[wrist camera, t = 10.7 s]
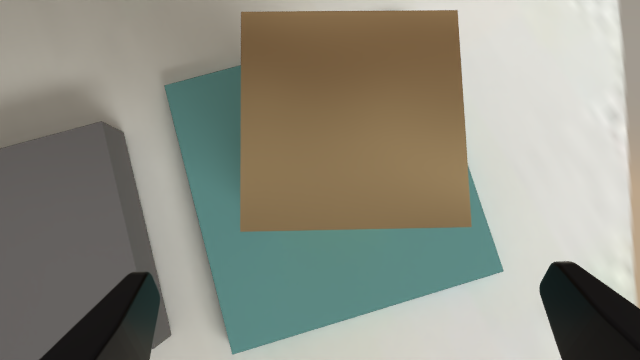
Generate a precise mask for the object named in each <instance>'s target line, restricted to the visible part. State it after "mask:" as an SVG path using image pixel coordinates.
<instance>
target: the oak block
mask: <svg viewBox="0 0 640 360" xmlns="http://www.w3.org/2000/svg"><path fill="white" fill-rule="evenodd" d="M453 227H472V224H471V209H470V194H469V178H468V163H467V148H466V133H465V118H464V103H463V88H462V72H461V57H460V42H459V27H458V12H457V10H438V11H296V12H241V165H240V232H254V231H303V230H353V229H403V228H453Z"/></svg>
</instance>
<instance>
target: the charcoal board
mask: <svg viewBox="0 0 640 360" xmlns="http://www.w3.org/2000/svg"><path fill="white" fill-rule="evenodd" d="M143 271H147V272H150V273H151V274H152V276H153V279H154V281H155V283H156V286H157V288H158V291H159V294H160V306H159V312H158V317H157V322H156V328H155V333H154V338H153V343H152V349H153V348H155V347H156V346H158V345H159V344H160V343H162V342H163V341H164V340H166V339H167V338H168V337H170V336H171V331H170V327H169V322H168V318H167V314H166V310H165V306H164V301H163V297H162V293H161V289H160V284H159V280H158V276H157V272H156V268H155V263H154V259H153V255H152V251H151V247H150V242H149V238H148V234H147V230H146V226H145V221H144V217H143V213H142V209H141V205H140V200H139V196H138V192H137V188H136V184H135V179H134V175H133V171H132V167H131V163H130V158H129V154H128V150H127V146H126V142H125V137H124V133H123V132H122V131H120V130H118V129H116V128H114V127H112V126H110V125H108V124H106V123H104V122H102V121H101V122H98V123H94V124H90V125H86V126H83V127H79V128H75V129H72V130H68V131H64V132H60V133H57V134H53V135H49V136H46V137H42V138H38V139H34V140H31V141H27V142H23V143H20V144H16V145H12V146H8V147H5V148H1V149H0V360H39V359H40V358H41V357H42V356H43V355H44V354H45V353H46V352H48V351H49V350H50V349H51V348H52V347H53V346H54V345H55V344H56V343H57V342H58V341H59V340H60V339H61V338H62V337H63V336H64V335H65V334H66V333H67V332H68V331H69V330H70V329H71V328H72V327H73V326H75V325H76V324H77V323H78V322H79V321H80V320H81V319H82V318H83V317H84V316H85V315H86V314H87V313H88V312H89V311H90V310H91V309H92V308H93V307H94V306H95V305H96V304H97V303H98V302H99V301H100V300H102V299H103V298H104V297H105V296H106V295H107V294H108V293H109V292H110V291H111V290H112V289H113V288H114V287H115V286H116V285H117V284H118V283H119V282H120V281H121V280H122V279H123V278H124V277H125V276H126V275H128V274H129V273H131V272H143Z"/></svg>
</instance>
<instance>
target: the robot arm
mask: <svg viewBox="0 0 640 360" xmlns="http://www.w3.org/2000/svg"><path fill="white" fill-rule="evenodd" d="M540 295H541V298H542V302H543V305H544V308H545V311H546V314H547V317H548V320H549V323H550V326H551V329H552V332H553V335H554V338H555V341H556V344H557V347H558V350H559V352H560V355H561V358H562V360H640V309H639V308H638V307H636V306H635V305H634V304H632V303H631V302H629V301H628V300H626V299H625V298H624V297H622V296H621V295H619V294H618V293H617V292H615V291H614V290H612V289H611V288H610V287H608V286H607V285H605V284H604V283H603V282H601V281H600V280H598V279H597V278H595V277H594V276H593V275H591V274H590V273H588V272H587V271H586V270H584V269H583V268H581V267H580V266H579V265H577V264H575V263H573V262H569V261H563V262H553V263H552V264H551V265H550V266H549V268H548V270H547V272H546V274H545V276H544V278H543V279H542V281H541V283H540ZM159 306H160V294H159V291H158V288H157V286H156V283H155V281H154V279H153V276H152V274H151V273H150V272H147V271H143V272H131V273H129V274H128V275H126V276H125V277H124V278H123V279H122V280H121V281H120V282H119V283H118V284H117V285H116V286H115V287H114V288H113V289H112V290H111V291H110V292H109V293H108V294H107V295H106V296H105V297H104V298H103V299H102V300H100V301H99V302H98V303H97V304H96V305H95V306H94V307H93V308H92V309H91V310H90V311H89V312H88V313H87V314H86V315H85V316H84V317H83V318H82V319H81V320H80V321H79V322H78V323H77V324H76V325H75V326H73V327H72V328H71V329H70V330H69V331H68V332H67V333H66V334H65V335H64V336H63V337H62V338H61V339H60V340H59V341H58V342H57V343H56V344H55V345H54V346H53V347H52V348H51V349H50V350H49V351H48V352H46V353H45V354H44V355H43V356H42V357H41V358H40V359H39V360H149V359H150V354H151V349H152V343H153V338H154V333H155V328H156V322H157V317H158V312H159Z"/></svg>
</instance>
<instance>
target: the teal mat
mask: <svg viewBox="0 0 640 360" xmlns="http://www.w3.org/2000/svg"><path fill="white" fill-rule="evenodd" d="M165 90H166V94H167V98H168V102H169V106H170V110H171V114H172V118H173V122H174V126H175V130H176V134H177V138H178V142H179V146H180V149H181V153H182V157H183V161H184V165H185V169H186V173H187V177H188V181H189V185H190V189H191V193H192V197H193V201H194V205H195V209H196V213H197V217H198V220H199V224H200V228H201V232H202V236H203V240H204V244H205V248H206V252H207V256H208V260H209V264H210V268H211V272H212V276H213V280H214V284H215V287H216V291H217V295H218V299H219V303H220V307H221V311H222V315H223V319H224V323H225V327H226V331H227V335H228V339H229V343H230V347H231V351H232V355H233V354H236V353H239V352H243V351H246V350H249V349H252V348H256V347H259V346H262V345H265V344H269V343H272V342H275V341H278V340H282V339H285V338H288V337H291V336H295V335H298V334H301V333H304V332H308V331H311V330H314V329H317V328H321V327H324V326H327V325H330V324H334V323H337V322H340V321H343V320H347V319H350V318H353V317H356V316H360V315H363V314H366V313H370V312H373V311H376V310H379V309H383V308H386V307H389V306H392V305H396V304H399V303H402V302H405V301H409V300H412V299H415V298H418V297H422V296H425V295H428V294H431V293H435V292H438V291H441V290H444V289H448V288H451V287H454V286H457V285H461V284H464V283H467V282H470V281H474V280H477V279H480V278H483V277H487V276H490V275H493V274H496V273H500V272H503V268H502V265H501V262H500V259H499V256H498V253H497V250H496V247H495V244H494V241H493V238H492V235H491V232H490V229H489V226H488V224H487V221H486V218H485V215H484V212H483V209H482V206H481V203H480V200H479V197H478V194H477V191H476V188H475V185H474V182H473V179H472V176H471V173H470V170H469V167H468V178H469V194H470V209H471V224H472V227H453V228H403V229H353V230H303V231H254V232H240V165H241V65H240V66H236V67H232V68H229V69H225V70H221V71H217V72H214V73H210V74H206V75H202V76H199V77H195V78H191V79H187V80H184V81H180V82H176V83H172V84H169V85H165Z"/></svg>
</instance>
